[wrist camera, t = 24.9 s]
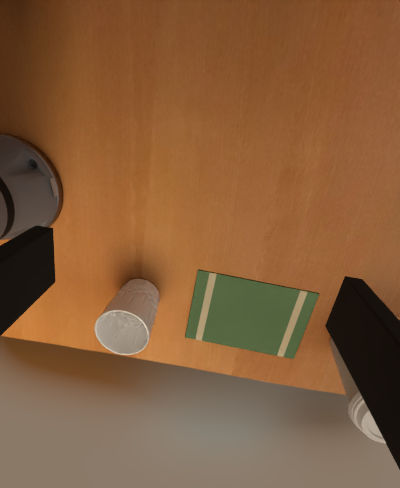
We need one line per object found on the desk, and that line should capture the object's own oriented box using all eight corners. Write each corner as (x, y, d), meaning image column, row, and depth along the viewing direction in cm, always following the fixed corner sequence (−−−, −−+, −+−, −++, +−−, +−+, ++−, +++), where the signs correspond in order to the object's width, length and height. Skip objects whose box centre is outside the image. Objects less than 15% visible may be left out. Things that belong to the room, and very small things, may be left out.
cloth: (185, 335, 54) (184, 337, 54) (198, 269, 49) (198, 270, 48) (293, 357, 54) (293, 359, 53) (318, 292, 48) (319, 294, 48)
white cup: (127, 317, 53) (106, 358, 44) (111, 279, 50) (86, 314, 41) (168, 310, 52) (156, 351, 43) (155, 271, 49) (138, 306, 40)
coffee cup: (359, 369, 53) (405, 456, 39) (310, 352, 53) (340, 433, 39) (390, 330, 50) (453, 410, 36) (339, 310, 49) (382, 385, 35)
